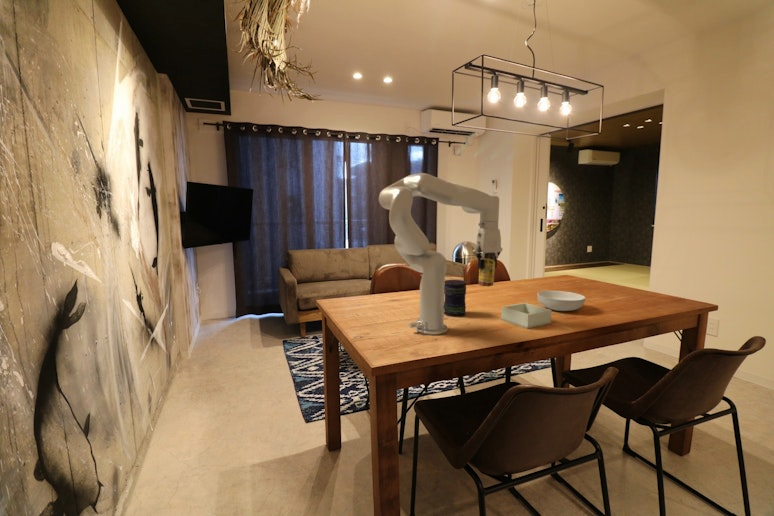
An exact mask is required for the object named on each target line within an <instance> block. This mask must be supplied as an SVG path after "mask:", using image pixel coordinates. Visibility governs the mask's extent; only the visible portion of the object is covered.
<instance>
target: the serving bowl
mask: <svg viewBox="0 0 774 516" xmlns="http://www.w3.org/2000/svg"><path fill="white" fill-rule="evenodd" d="M536 296H537V297H536V298H537V300H538V303H540V305H542V307H544V308H546V309H550V310H552V311H556V312H570V311H575V310H579V309H580V308H582V307H583V305H584V304H585V301H586V296H584V295H582V294H579V293H575V292H571V291H563V290H541V291H538V292H537V293H536Z"/></svg>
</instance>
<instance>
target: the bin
mask: <svg viewBox="0 0 774 516" xmlns="http://www.w3.org/2000/svg"><path fill="white" fill-rule="evenodd" d="M552 311H553V310H552V309H550V308H547V307H543V306H542V307H541V306H539V305H535V304H531V303H527V302H522V303H521V302H520V303H515V304H509V305H504V306H501V318H500V319H501V321H504V322H507V323H509V324H512V325H515V326H518V327H521V328H523V327H524V329H526V328H527V329H526V330H529V329H532V328H533V327H534V328H537V326H538V327H543V326H545V325H546V324H547V325H550V324H552Z"/></svg>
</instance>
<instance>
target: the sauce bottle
mask: <svg viewBox="0 0 774 516" xmlns="http://www.w3.org/2000/svg"><path fill="white" fill-rule="evenodd" d="M481 255H482V254H481ZM495 257H496V255H495V253H485V256H484V258H483V260H484V269H479V270H478V272H479V273H478V285H479V286H482V287H492V286H494V282H495V272H496V271H495V270H496V268H495Z"/></svg>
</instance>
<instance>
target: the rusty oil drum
mask: <svg viewBox="0 0 774 516" xmlns="http://www.w3.org/2000/svg"><path fill="white" fill-rule="evenodd" d="M466 294H467V281H465V280H463V279H462V280H460V279H447V280H444V316H446V317H451V318H461V317H465V316H466V310H467V308H466V305H467V304H466Z"/></svg>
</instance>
